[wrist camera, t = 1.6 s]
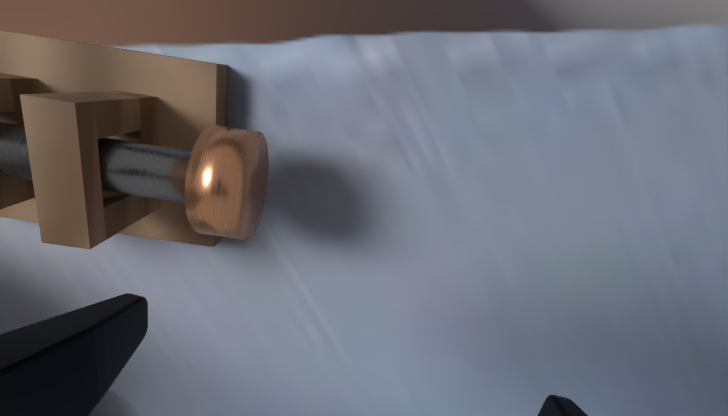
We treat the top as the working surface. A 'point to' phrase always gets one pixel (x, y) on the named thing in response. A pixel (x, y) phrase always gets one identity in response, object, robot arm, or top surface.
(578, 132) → the top surface
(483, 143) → the top surface
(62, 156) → the bearing stand
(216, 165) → the shaft
